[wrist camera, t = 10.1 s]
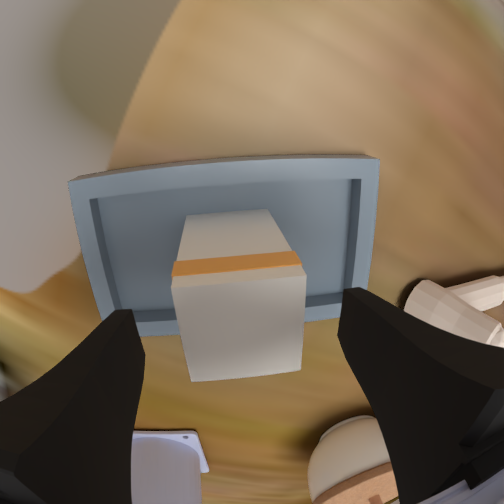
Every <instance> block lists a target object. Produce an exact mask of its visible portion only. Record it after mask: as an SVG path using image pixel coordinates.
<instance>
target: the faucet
mask: <svg viewBox="0 0 504 504" xmlns="http://www.w3.org/2000/svg"><path fill="white" fill-rule="evenodd" d="M503 300H504V276H501V277H498V276H495V275H492V276H489V277H485V278H482V279H478V280H474V281H471V282H467V283H463V284H459V285H456V286H452V287H448V288H443V287H442V286H440V285H438V284H436V283H434V282H432V281H430V280H422V281H421V282H420V283H419V284H418V285H417V286H415V288H414V289H413V291H412V292H411V294H410V295H409V297H408V299H407V302H406V305H405V308H404V311H405V312H407V313H409V314H411V315H413V316H414V317H416V318H418V319H420V320H422V321H424V322H427V323H429V324H431V325H433V326H435V327H437V328H440V329H442V330H445V331H447V332H450V333H452V334H455V335H458V336H461V337H464V338H467V339H470V340H474V341H477V342H480V343H484V344H489V345H493V346H498V347H503V348H504V329H503V328H502V325H501V323H500V322H498V321H497V320H495V319H493V318H492V317H490V316H488V315H486V314H485V313H483V312H481V311H484V310H487V309H490V308H493V307H495V306H498V305H501V303H502V301H503Z"/></svg>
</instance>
